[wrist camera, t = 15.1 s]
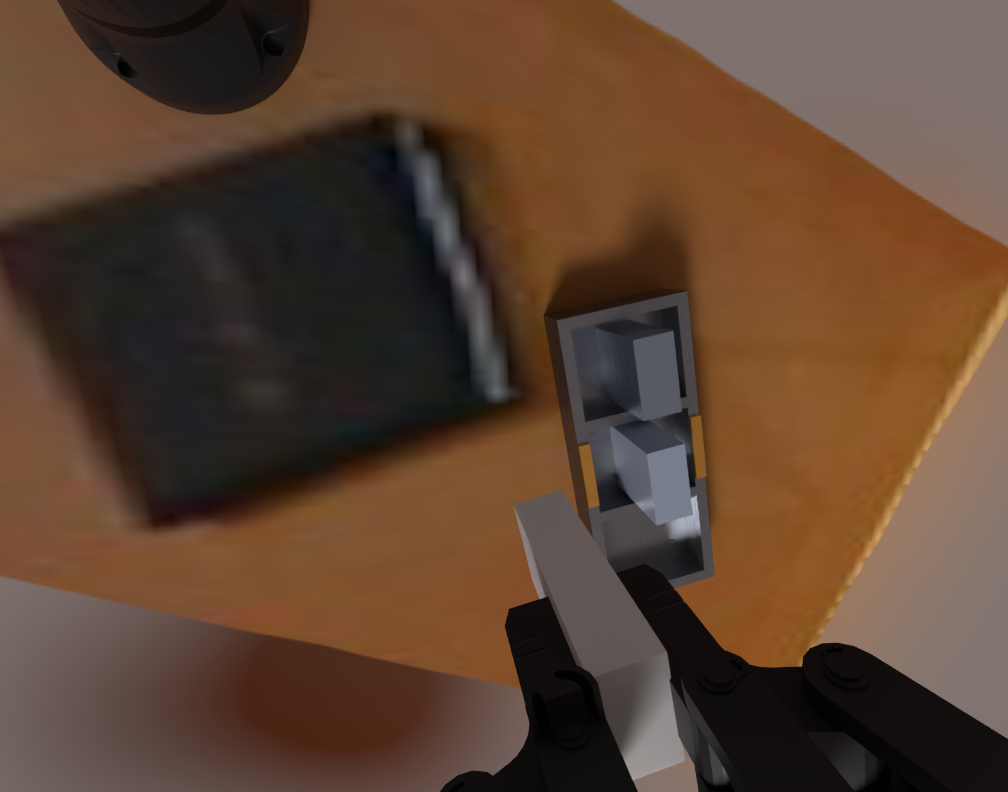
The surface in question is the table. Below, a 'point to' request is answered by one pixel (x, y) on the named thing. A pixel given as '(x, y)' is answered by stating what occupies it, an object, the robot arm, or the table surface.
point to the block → (652, 470)
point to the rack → (626, 398)
